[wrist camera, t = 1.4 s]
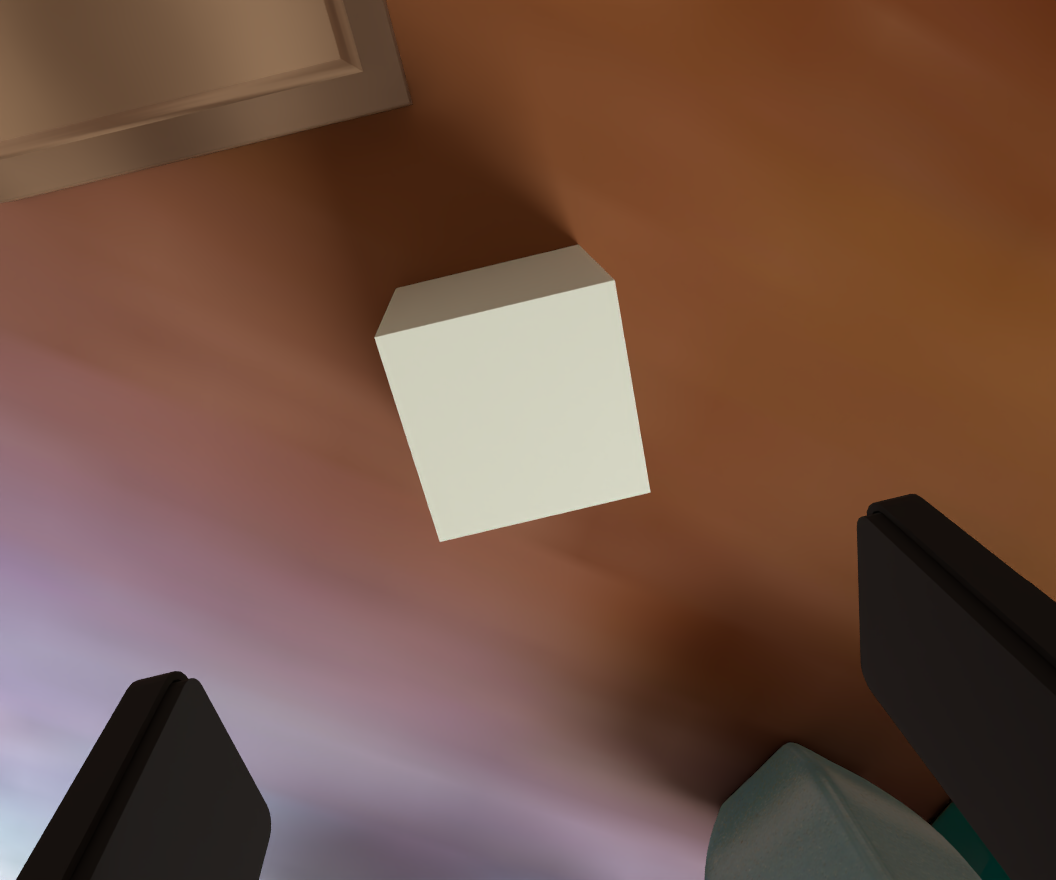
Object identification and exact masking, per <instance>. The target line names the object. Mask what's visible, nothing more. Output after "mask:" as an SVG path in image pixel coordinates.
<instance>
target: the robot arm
mask: <svg viewBox="0 0 1056 880" xmlns="http://www.w3.org/2000/svg"><path fill="white" fill-rule="evenodd" d="M857 547H858V583H859V619H860V655H861V668H862V672H863V676H864V678H865V681H866V683H867V685H868V687H869V689H870V690H871V692H872V693H873V695H874V696H875V697H876V699H877V700H878V701H879V703H880V704H881V705H882V707H883V708H884V709H885V711H886V712H887V713H888V715H889V716H890V717H891V719H892V720H893V721H894V723H895V724H896V726H897V727H898V728H899V730H900V731H901V732H902V734H903V735H904V736H905V738H906V739H907V740H908V742H909V743H910V744H911V746H912V747H913V748H914V750H915V751H916V752H917V754H918V755H919V757H920V758H921V759H922V761H923V762H924V763H925V765H926V766H927V767H928V769H929V770H930V771H931V773H932V774H933V775H934V777H935V778H936V779H937V781H938V782H939V783H940V785H941V786H942V788H943V789H944V790H945V792H946V793H947V794H948V796H949V797H950V798H951V800H952V801H953V802H954V804H955V805H956V806H957V808H958V809H959V810H960V812H961V813H962V814H963V816H964V817H965V818H966V820H967V821H968V823H969V824H970V825H971V827H972V828H973V829H974V831H975V832H976V833H977V835H978V836H979V837H980V839H981V840H982V841H983V843H984V844H985V845H986V847H987V848H988V849H989V851H990V852H991V854H992V855H993V856H994V858H995V859H996V860H997V862H998V863H999V864H1000V866H1001V867H1002V868H1003V870H1004V871H1005V872H1006V874H1007V875H1008V876H1009V878H1010V879H1011V880H1056V602H1055V601H1053V600H1052V599H1051V598H1049V597H1048V596H1047V595H1046V594H1044V593H1043V592H1042V591H1041V590H1039V589H1038V588H1037V587H1035V586H1034V585H1033V584H1032V583H1030V582H1029V581H1027V580H1026V579H1024V578H1023V577H1022V576H1020V575H1019V574H1018V573H1017V572H1015V571H1014V570H1013V569H1012V568H1010V567H1009V566H1008V565H1007V564H1005V563H1004V562H1003V561H1001V560H1000V559H999V558H998V557H996V556H995V555H994V554H993V553H991V552H990V551H989V550H987V549H986V548H985V547H984V546H982V545H981V544H980V543H979V542H977V541H976V540H975V539H974V538H972V537H971V536H970V535H968V534H967V533H966V532H965V531H963V530H962V529H961V528H960V527H958V526H957V525H956V524H954V523H953V522H952V521H951V520H949V519H948V518H947V517H946V516H944V515H943V514H942V513H941V512H939V511H938V510H937V509H935V508H934V507H933V506H932V505H930V504H929V503H928V502H927V501H925V500H924V499H923V498H921V497H920V496H918V495H916V494H909V495H904V496H900V497H896V498H892V499H888V500H884V501H880V502H875V503H872V504H871V505H870V506H869V508H868V510H867V516H863V517H861V518H859V520H858V522H857ZM270 833H271V817H270V812H269V809H268V806H267V804H266V803H265V801H264V799H263V797H262V795H261V793H260V791H259V790H258V788H257V786H256V784H255V782H254V780H253V779H252V777H251V775H250V773H249V771H248V769H247V768H246V766H245V764H244V762H243V760H242V758H241V756H240V755H239V753H238V751H237V749H236V747H235V745H234V744H233V742H232V740H231V738H230V736H229V734H228V732H227V731H226V729H225V727H224V725H223V723H222V721H221V720H220V718H219V716H218V714H217V712H216V710H215V709H214V707H213V705H212V703H211V701H210V699H209V697H208V696H207V694H206V692H205V690H204V688H203V686H202V685H201V683H200V682H199V681H198V680H197V679H195V678H190V679H188V678H187V676H186V675H185V674H183V673H182V672H179V671H174V672H170V673H166V674H162V675H157V676H153V677H149V678H145V679H141V680H137V681H135V682H133V683H132V684H131V685H130V686H129V688H128V689H127V690H126V692H125V694H124V696H123V697H122V699H121V701H120V702H119V704H118V706H117V708H116V709H115V711H114V713H113V714H112V716H111V718H110V720H109V721H108V723H107V725H106V726H105V728H104V730H103V732H102V733H101V735H100V737H99V738H98V740H97V742H96V744H95V745H94V747H93V749H92V750H91V752H90V754H89V756H88V757H87V759H86V761H85V762H84V764H83V766H82V768H81V769H80V771H79V773H78V774H77V776H76V778H75V780H74V781H73V783H72V785H71V786H70V788H69V790H68V792H67V793H66V795H65V797H64V798H63V800H62V802H61V804H60V805H59V807H58V809H57V810H56V812H55V814H54V816H53V817H52V819H51V821H50V822H49V824H48V826H47V827H46V829H45V831H44V833H43V834H42V836H41V838H40V840H39V841H38V843H37V845H36V846H35V848H34V850H33V851H32V853H31V855H30V857H29V858H28V860H27V862H26V863H25V865H24V867H23V869H22V870H21V872H20V874H19V875H18V877H17V879H16V880H259V877H260V873H261V869H262V865H263V861H264V857H265V854H266V850H267V846H268V842H269V838H270Z"/></svg>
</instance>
